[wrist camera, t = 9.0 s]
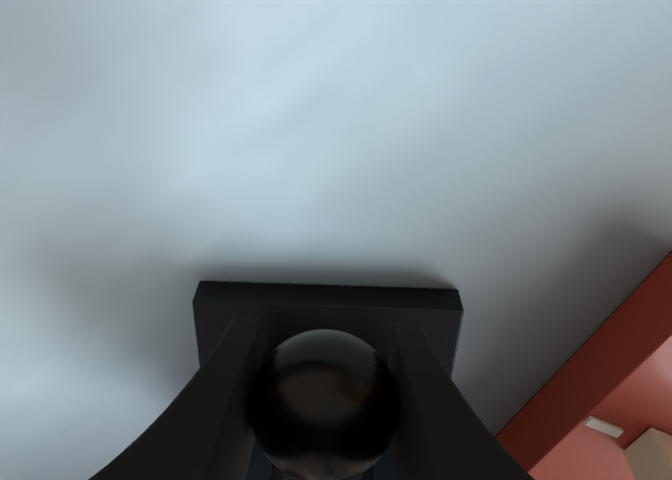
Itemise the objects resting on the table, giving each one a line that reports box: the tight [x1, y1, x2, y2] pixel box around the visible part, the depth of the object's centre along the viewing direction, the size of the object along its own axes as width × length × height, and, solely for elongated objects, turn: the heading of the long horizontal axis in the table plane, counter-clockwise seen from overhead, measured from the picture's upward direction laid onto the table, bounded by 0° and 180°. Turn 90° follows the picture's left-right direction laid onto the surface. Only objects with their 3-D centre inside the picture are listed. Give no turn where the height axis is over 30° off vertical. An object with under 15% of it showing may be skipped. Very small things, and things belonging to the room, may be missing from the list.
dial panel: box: [495, 253, 672, 480], centre depth 23 cm, size 12×9×3 cm
